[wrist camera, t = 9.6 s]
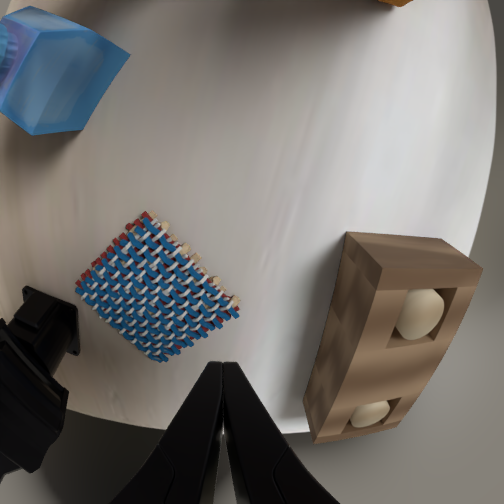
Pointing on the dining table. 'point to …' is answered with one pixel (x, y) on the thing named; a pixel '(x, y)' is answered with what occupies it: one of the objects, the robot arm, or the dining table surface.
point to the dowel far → (369, 413)
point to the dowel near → (419, 313)
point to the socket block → (383, 330)
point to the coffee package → (396, 2)
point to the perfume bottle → (53, 71)
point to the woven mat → (155, 290)
